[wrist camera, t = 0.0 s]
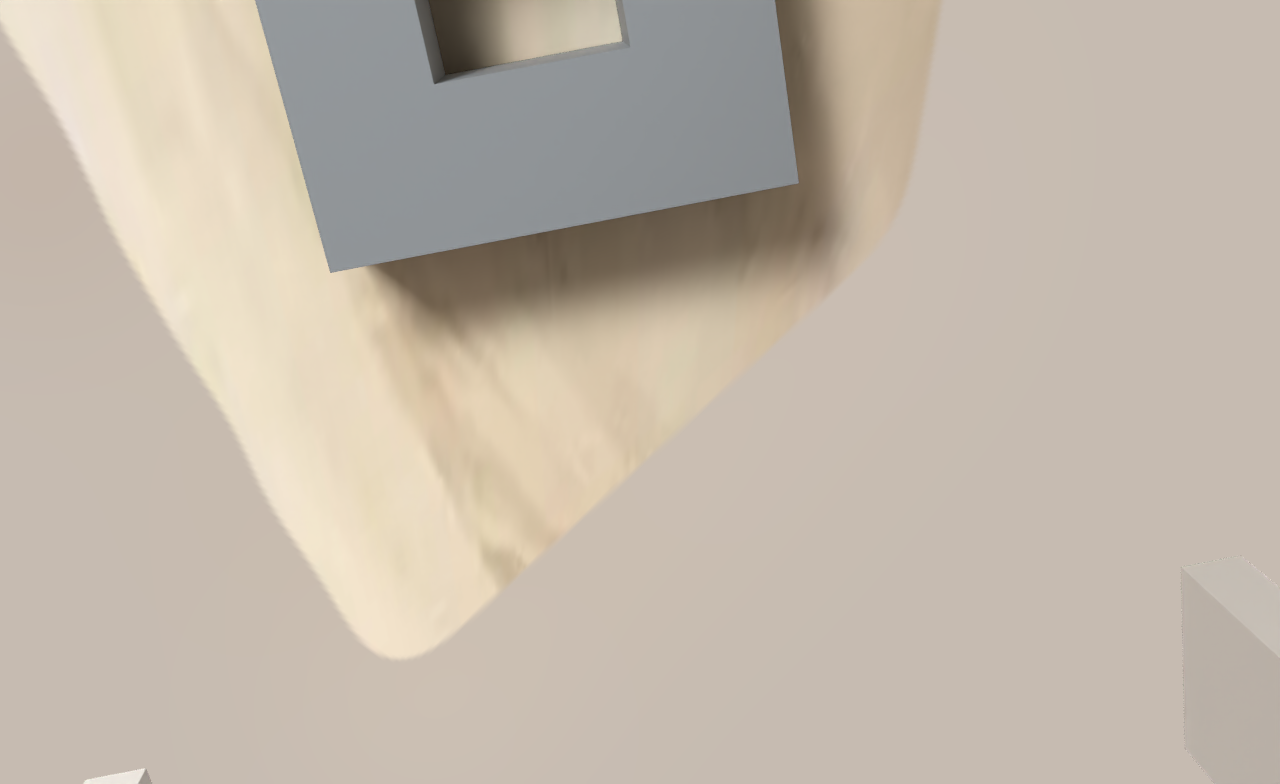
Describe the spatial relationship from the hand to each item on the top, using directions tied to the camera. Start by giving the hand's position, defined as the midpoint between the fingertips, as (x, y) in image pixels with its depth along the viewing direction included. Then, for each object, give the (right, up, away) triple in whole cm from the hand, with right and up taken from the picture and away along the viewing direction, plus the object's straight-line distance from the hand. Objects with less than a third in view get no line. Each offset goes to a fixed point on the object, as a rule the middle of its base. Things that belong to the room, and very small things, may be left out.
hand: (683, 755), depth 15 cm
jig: (-5, +19, +23) cm, 30 cm away
